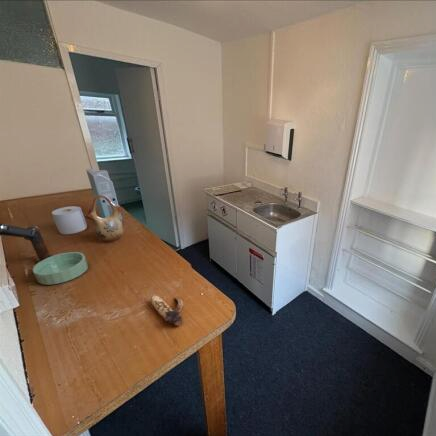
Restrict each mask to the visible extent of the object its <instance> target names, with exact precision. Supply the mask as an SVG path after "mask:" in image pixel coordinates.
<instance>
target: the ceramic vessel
mask: <svg viewBox="0 0 436 436" xmlns="http://www.w3.org/2000/svg"><path fill="white" fill-rule="evenodd" d="M98 198H105V199H106V200H107V201H108V202H109V204H110V205H111V207H112V210H113V213H112V215H111V216H109V217H107V218H101V217H100V216H98V215H97V211H96V206H97V204H96V200H97V199H98ZM122 211H124V207H122V206H120V205H119V206H116V205H114V204H113V203H112V202H111V201H110V200H109V198H108V197H106V196H103V195H99V196H97V197H95V198H93V201H92V204H91V207H90V208H89V210H88V211H87V212H86V213H84V214H83V215H84V218H85V219H89V220H90V221H92V222H93V224H94V229H93V230H94V234H95V236H96V237H97V238H98V239H99V240H101V241H103V242H108V243H109V242H114V241H117V240H118V239H120V238H121V237H122V236H123V234H124V232H125V228H124V224H123V221H122V222H121V221H120V219H119V214H120V213H121V212H122Z"/></svg>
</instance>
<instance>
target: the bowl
mask: <svg viewBox="0 0 436 436" xmlns="http://www.w3.org/2000/svg"><path fill="white" fill-rule="evenodd" d="M88 269H89V264H88V261H87V257H86V255H85V254H84V253H82V252H79V251H69V252H62V253H57V254H54V255H53V256H51V257H49V258H46V259H44V260H42V261H40V262H39V263H38V262H37V263H36V264H35V265H34V266H33V267H32V272H33V274H34V277H35V278H36V281H37V282H38V284H40V285H48V286H49V285H50V286H51V285H57V284H62V283H65V282H66V283H67V282H69V281H71V280H74V279H76V278H77V277H80V276H81V275H82V274H84V273H85V272H86V271H87V270H88Z"/></svg>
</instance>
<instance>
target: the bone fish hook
mask: <svg viewBox="0 0 436 436" xmlns="http://www.w3.org/2000/svg"><path fill="white" fill-rule="evenodd" d="M174 300H175V301H176V302H177V306H176V307H175V308H174V309H173V308H171V306H170V305H169V304H168V303H166V302H165V301H164V299H162V298H161V297H160V296H159V295H157V294H154V295H152V296H151V297H150V303H151V305H152V306H153V307H154V309H155V310H156V311H157V313H158V314H159V315H160V316H161V317H162V318H163V319H164V322H167V323H169V324H171V325H172V324H173V325H174V326H175V327H179V326H181V325H182V322H183V320H182V317H183V316H182V315H180V313H181V312H182V311H183V308H184V302H183V300H182V299H180V298H179V297H174Z"/></svg>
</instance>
